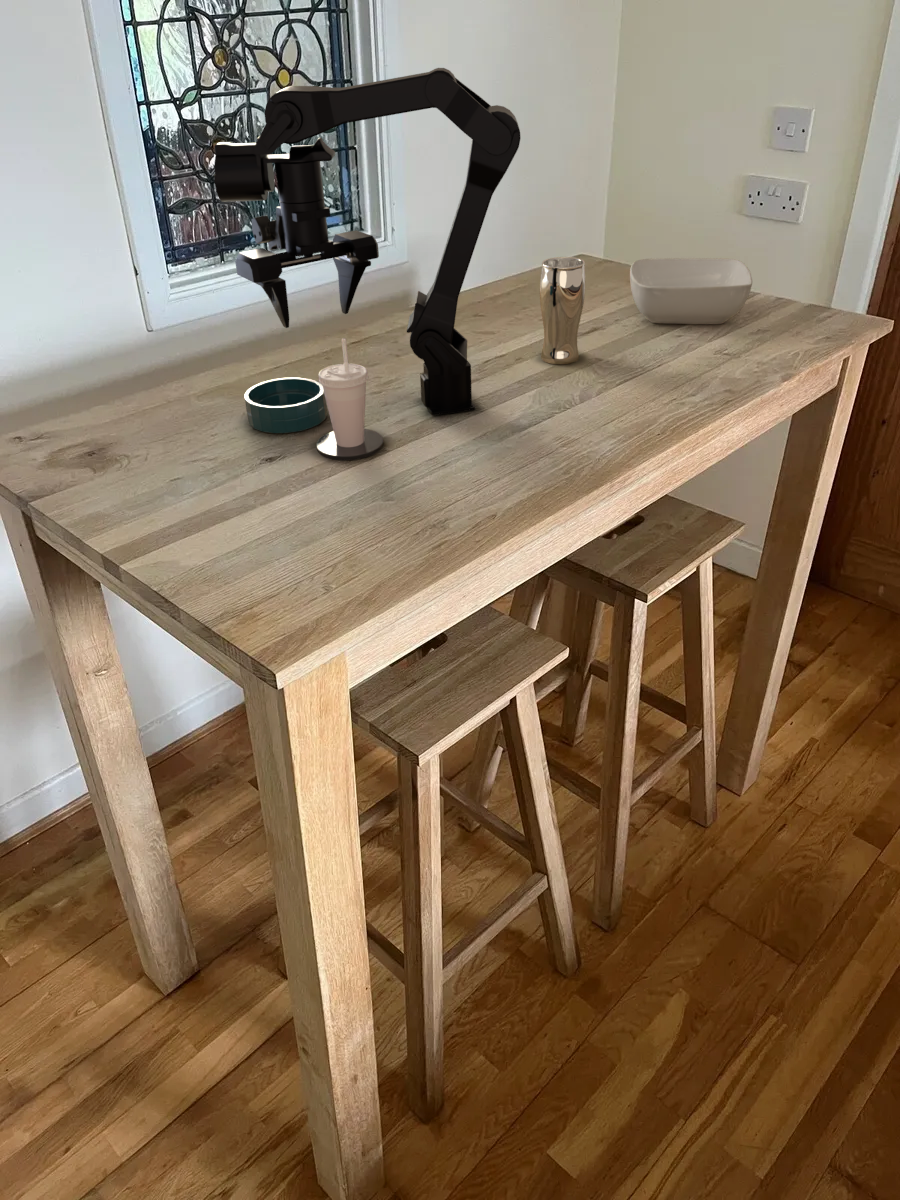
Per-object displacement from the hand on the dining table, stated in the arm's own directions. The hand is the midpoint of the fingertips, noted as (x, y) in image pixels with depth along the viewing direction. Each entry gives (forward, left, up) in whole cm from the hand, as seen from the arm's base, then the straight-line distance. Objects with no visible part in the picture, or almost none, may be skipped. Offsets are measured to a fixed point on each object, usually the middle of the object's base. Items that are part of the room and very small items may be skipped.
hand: (316, 320), depth 126 cm
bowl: (-68, -22, -13) cm, 73 cm away
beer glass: (-39, -8, -13) cm, 42 cm away
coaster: (-1, +14, -13) cm, 19 cm away
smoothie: (-1, +14, -12) cm, 19 cm away
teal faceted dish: (+6, +2, -13) cm, 14 cm away
